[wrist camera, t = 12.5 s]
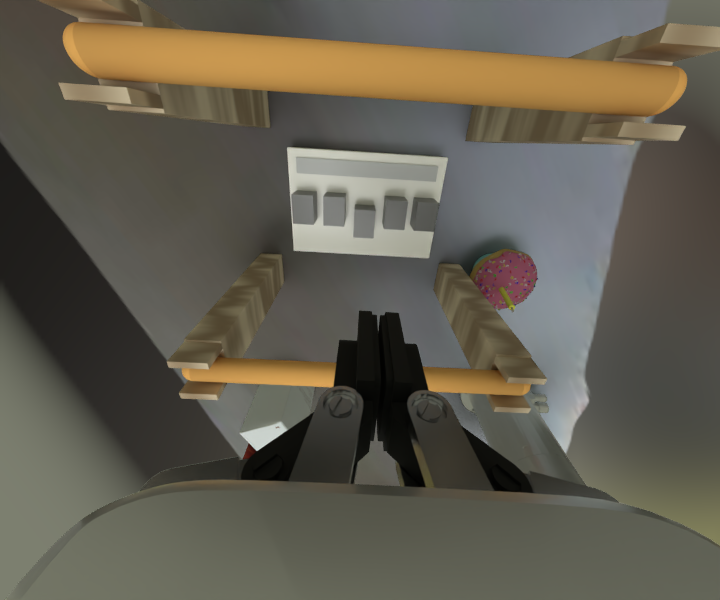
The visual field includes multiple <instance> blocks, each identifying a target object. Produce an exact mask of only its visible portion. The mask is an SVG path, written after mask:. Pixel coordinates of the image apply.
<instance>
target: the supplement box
mask: <svg viewBox="0 0 720 600" xmlns="http://www.w3.org/2000/svg"><path fill="white" fill-rule="evenodd" d="M314 389H315V387H314V386H291V385H269V384H259V387H258V389H257V392H256V394H255V397H254V399H253V402H252V404H251V406H250V409H249V411H248V414H247V416H246V419H245V421H244V424H243V426H242V429H241V431H240V434H241V435H242V436H243V437H244V438H245V439H246V440H247V441H248V442H249V443H250V445H251V446H252V447H253V448H254V449H255V450H256V451H258V450H259V449H261V448H262V447H264V446H265V445H266V444H268V443H269V442H271V441H272V440H274V439H275V438H277V437H278V436H280V435H281V434H283V433H284V432H286V431H287V430H288V429H290V428H291V427H293V426H294V425H296V424H297V423H299V422H300V421H302V420H303V419H305V418H306V417H308V416H309V415H310V410H311V405H312V400H313V394H314Z"/></svg>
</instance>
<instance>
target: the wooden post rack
mask: <svg viewBox="0 0 720 600" xmlns="http://www.w3.org/2000/svg"><path fill="white" fill-rule="evenodd" d="M38 1H41V2H43V3H45V4H48V5H50V6H52V7H54V8H57V9H59V10H61V11H64V12H66V13H68V14H71V15H73V16H75V17H78V20H79V22H89V23H102V24H116V25H129V26H143V27H156V28H170V29H183V30H185V29H184V28H182V27H181V26H179V25H177V24H176V23H174V22H173V21H171V20H169V19H168V18H166V17H165V16H163V15H162V14H160V13H158V12H157V11H155V10H154V9H152V8H150V7H149V6H147V5H146V4H144V3H142V2H141V1H139V0H38ZM719 50H720V27H710V26H697V25H684V24H672V23H671V24H670V23H668V24H665V25H662V26H660V27H657V28H655V29H652V30H649V31H647V32H644V33H642V34H639V35H636V36H634V37H631V36H622V37H619V38H617V39H614V40H612V41H609V42H607V43H604V44H602V45H599V46H597V47H594V48H592V49H589V50H587V51H584V52H582V53H579V54H577V55H574V56H572V57H569V58H574V59H588V60H601V61H615V62H628V63H642V64H655V65H669V66H672V63H673V62H675V61H679V60H682V59H687V58H690V57H695V56H699V55H703V54H707V53H711V52H715V51H719ZM98 80H99V83H100V86H97V85H83V84H68V83H59V85H60V88H61V91H62V93H63V96H64V98H65V99H67V100H74V101H81V102H88V103H95V104H103V105H107V108H108V110H116V111H124V112H132V113H140V114H148V115H156V116H165V117H173V118H181V119H189V120H197V121H205V122H214V123H222V124H230V125H238V126H248V127H263V128H270V117H269V105H268V94H267V91H264V90H250V89H235V88H221V87H207V86H192V85H178V84H163V83H149V82H135V81H120V80H106V79H99V78H98ZM646 118H647V117H639V116H624V115H610V114H596V113H581V112H567V111H552V110H538V109H524V108H509V107H495V106H480V105H473V108H472V112H471V117H470V122H469V126H468V131H467V135H466V140H465V141H474V142H489V143H552V144H618V145H634V143H635V141H678V140H679V138H680V136H681V134H682V132H683V130H684V128H685V127H686V126H677V125H664V124H649V123H644V122H645V120H646ZM283 283H284V273H283V262H282V254H264V253H261V254H260V255H259V256H258V257H257V258H256V259H255V261H254V262H253V263H252V264H251V265H250V266H249V267H248V268H247V270H246V271H245V272H244V273H243V274H242V275H241V276H240V277H239V278H238V280H237V281H236V282H235V283H234V284H233V285H232V286H231V287H230V289H229V290H228V291H227V292H226V293H225V294H224V295H223V296H222V297H221V299H220V300H219V301H218V302H217V303H216V304H215V305H214V306H213V308H212V309H211V310H210V311H209V312H208V313H207V314H206V315H205V316H204V318H203V319H202V320H201V321H200V322H199V323H198V324H197V325H196V327H195V328H194V329H193V330H192V331H191V332H190V333H189V334H188V335H187V337H186V338H185V339H184V343H183V344H182V345H181V346H180V347H179V348H178V349H177V351H176V352H175V353H174V354H173V355H172V356H171V357H170V358H169V360H168V361H167V364H168V366H169V367H170V368H190V369H210V367H211V366H212V364H213V363H214V361H215V360H216V358H217V357H223V358H243V356H244V354H245V352H246V350H247V349H248V347H249V345H250V343H251V341H252V340H253V338H254V336H255V334H256V332H257V330H258V329H259V327H260V325H261V323H262V321H263V319H264V318H265V316H266V314H267V312H268V310H269V309H270V307H271V305H272V303H273V301H274V299H275V298H276V296H277V294H278V292H279V290H280V289H281V287H282V285H283ZM433 290H434V292H435V294H436V296H437V298H438V300H439V302H440V304H441V306H442V309H443V311H444V313H445V315H446V317H447V319H448V321H449V323H450V325H451V327H452V329H453V331H454V333H455V336H456V338H457V340H458V342H459V344H460V346H461V348H462V350H463V352H464V354H465V356H466V358H467V361H468V363H469V365H470V367H471V369H481V370H499V371H500V373H501V374H502V376H503V378H504V379H505V381H506V383H520V384H542V385H544V384H545V382H546V381H547V378H546V377H545V375H544V374H543V373H542V372H541V370H540V369H539V368H538V367H537V365H536V364H535V363H534V361H533V360H532V359H531V357H532V356H531V355H530V353H529V352H528V351H527V350H526V348H525V347H524V346H523V344H522V343H521V342H520V341H519V339H518V338H517V337H516V336H515V334H514V333H513V332H512V331H511V329H510V328H509V327H508V325H507V324H506V323H505V322H504V320H503V319H502V318H501V317H500V315H499V314H498V313H497V312H496V310H495V309H494V308H493V306H492V305H491V304H490V303H489V301H488V300H487V299H486V298H485V296H484V295H483V294H482V292H481V291H480V290H479V289H478V287H477V286H476V285H475V284H474V282H473V281H472V280H471V279H470V277H469V276H468V275H467V273H466V272H465V271H464V270H463V268H462V267H461V266H460V265H459V264H444V263H439V266H438V271H437V275H436V280H435V285H434V289H433ZM226 384H227V383H224V382H201V381H190V380H188V382H187V383H186V384H185V386H184V387H183V388H182V390H181V391H180V393H179V394H180V397H181V398H186V399H209V400H218V399H219V397H220V395H221V393H222V392H223V390H224V388H225V386H226ZM485 395H486V397H487V399H488V401H489V403H490V405H491V407H492V409H493V412H512V413H529V412H530V410H531V407H530V406H529V404H528V403H527V401H526V399H525V398H524V396H523V395H520V396H517V395H494V394H485Z"/></svg>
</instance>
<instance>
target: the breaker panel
mask: <svg viewBox="0 0 720 600" xmlns="http://www.w3.org/2000/svg"><path fill="white" fill-rule="evenodd" d="M287 153H288V168H289V183H290V198H291V213H292V229H293V244H294V251H307V252H325V253H343V254H361V255H379V256H397V257H415V258H429V254H430V249H431V244H432V239H433V233H434V230H435V225H436V220H437V215H438V209H439V204H440V203H439V202H440V197H441V192H442V187H443V182H444V176H445V171H446V166H447V161H448V158H446V157H440V156H424V155H409V154H394V153H378V152H363V151H347V150H332V149H316V148H301V147H287Z"/></svg>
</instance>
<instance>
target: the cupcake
mask: <svg viewBox="0 0 720 600" xmlns="http://www.w3.org/2000/svg"><path fill="white" fill-rule="evenodd" d="M469 277H470V279H471V280H472V281H473V282H474V284H475V285H476V286H477V287H478V289H479V290H480V291H481V292H482V294H483V295H484V296H485V298H486V299H487V300H488V301H489V303H490V304H491V305H492V306H493V308H494V309H495V310H496V309H498V310H499V309H504V308H509V309H510V310H512V312H514V309H515V305H516V304H519V303H521V302H523V301H524V299H527V298H526V297H527V296H528V295H529V294H530V293H531V291H533V288H534V287H535V284H536V280H537V279H538V278H537V269H536V266H535V264H534V262H533V260H532V258H531V257H530V256H529V255H527V254H525V253H522V252H519V251H515V250H510V249H501V250H499V251H497V252H495V253H489V254H485V255H483V256H481V257H480V258H479V259H478V260H477V261H476V262H475V264H474V266H473V269H472V272H471V274H470V276H469Z"/></svg>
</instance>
